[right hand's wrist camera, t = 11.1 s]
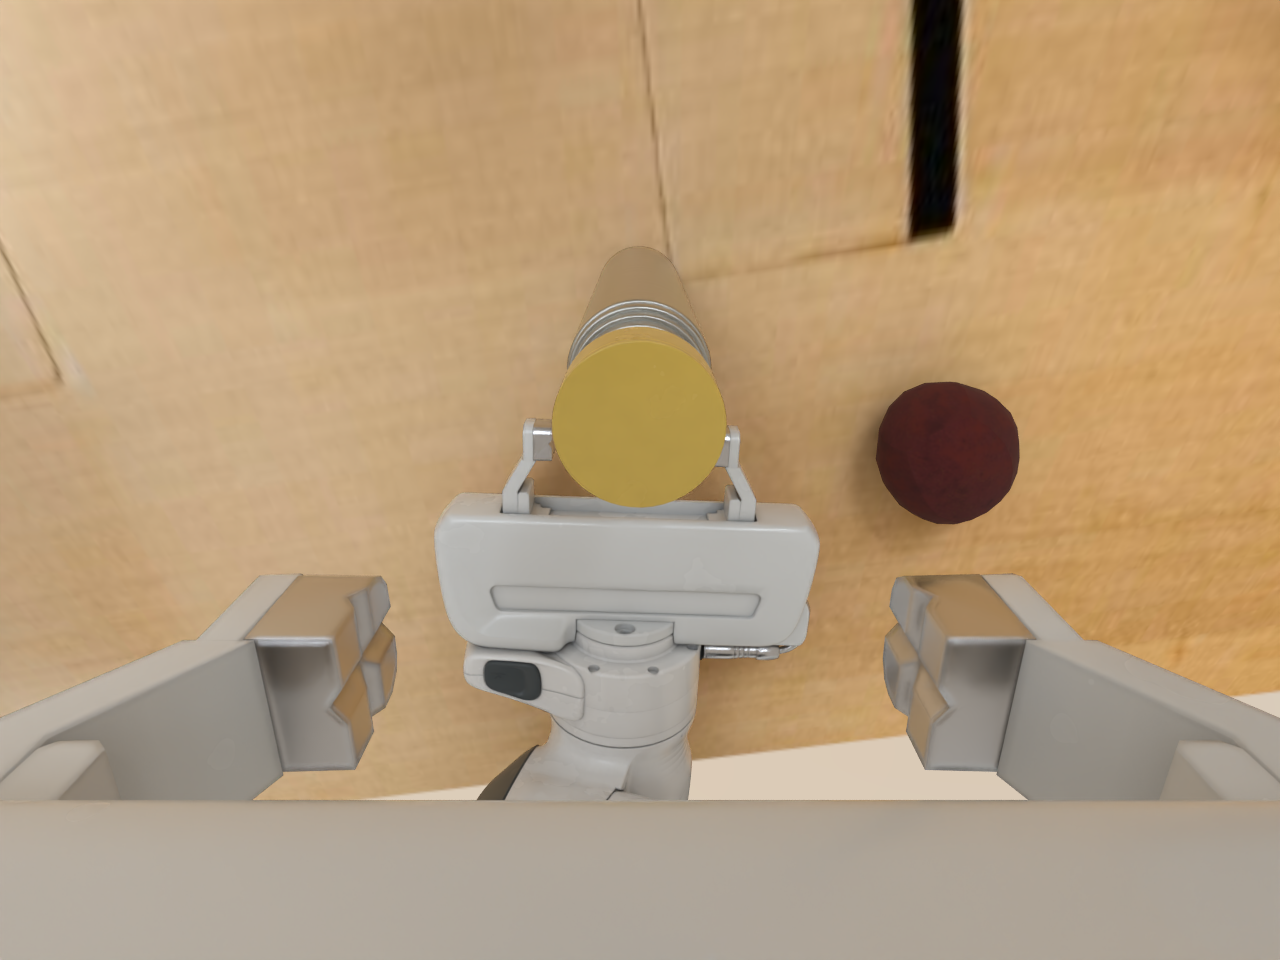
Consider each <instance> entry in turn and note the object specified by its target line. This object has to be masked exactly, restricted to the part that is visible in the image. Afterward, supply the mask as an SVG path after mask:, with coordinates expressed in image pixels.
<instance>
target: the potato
mask: <svg viewBox="0 0 1280 960" xmlns="http://www.w3.org/2000/svg"><path fill="white" fill-rule="evenodd" d="M876 461H877V464H878V467H879V471H880V474H881V477H882V480H883V482H884V484H885V486H886V487H887V489H888V490H889V491H890V493H891V494H892V495H893V497H894V498H895V499H896V501H897V502H898V503H899V505H901V506H902V507H904V508H905V509H907V510H908V511H910V512H911V513H912V514H914V515H916V516H918V517H920V518H922V519H924V520H927V521H930V522H933V523H937V524H958V523H962V522H965V521H969V520H972V519H974V518H976V517H978V516H980V515H982V514H985V513H987V512H988V511H989V510H990V509H992V508H993V507H994V506H995V505H997V504H998V503H999V502H1000V501H1001V500H1002V499H1003V498H1004V496H1005V495H1006V494H1007V493H1008V492H1009V490H1010V488H1011V486H1012V484H1013V482H1014V479H1015V477H1016V474H1017V470H1018V464H1019V438H1018V430H1017V426H1016V424H1015V422H1014V419H1013V417H1012V415H1011V413H1010V412H1009V411H1008V410H1007V409H1006V408H1005V407H1004V406H1003V405H1002V404H1001V403H1000V402H999V401H998V400H997V399H995V398H994V397H992V396H991V395H989V394H988V393H986V392H985V391H982V390H979V389H976V388H973V387H970V386H967V385H963V384H960V383H957V382H938V383H924V384H921V385H919V386H917V387H914V388H912V389H909V390H907V391H905V392H903V393H902V394H901V395H900V396H899V397H898V398H897V399H896V400H895V401H894V402H893V403H892V404H891V405H890V406H889V408H888V410H887V413H886V415H885V417H884V419H883V421H882V424H881V426H880V429H879V435H878V444H877V454H876Z"/></svg>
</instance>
